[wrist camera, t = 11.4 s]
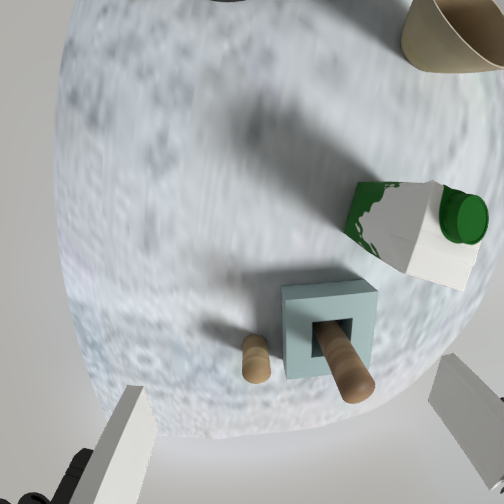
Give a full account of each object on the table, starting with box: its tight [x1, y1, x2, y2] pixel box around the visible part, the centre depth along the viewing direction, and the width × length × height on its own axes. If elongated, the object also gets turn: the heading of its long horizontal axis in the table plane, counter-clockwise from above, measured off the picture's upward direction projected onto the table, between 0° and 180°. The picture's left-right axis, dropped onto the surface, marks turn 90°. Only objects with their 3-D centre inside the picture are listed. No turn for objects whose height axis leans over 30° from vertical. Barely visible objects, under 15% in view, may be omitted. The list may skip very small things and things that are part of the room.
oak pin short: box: [242, 335, 271, 384], centre depth 39 cm, size 4×4×7 cm
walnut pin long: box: [312, 320, 375, 404], centre depth 34 cm, size 4×4×16 cm
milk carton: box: [343, 180, 489, 291], centre depth 28 cm, size 9×9×20 cm
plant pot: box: [401, 0, 504, 73], centre depth 24 cm, size 15×15×16 cm
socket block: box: [281, 279, 378, 379], centre depth 39 cm, size 12×12×5 cm
